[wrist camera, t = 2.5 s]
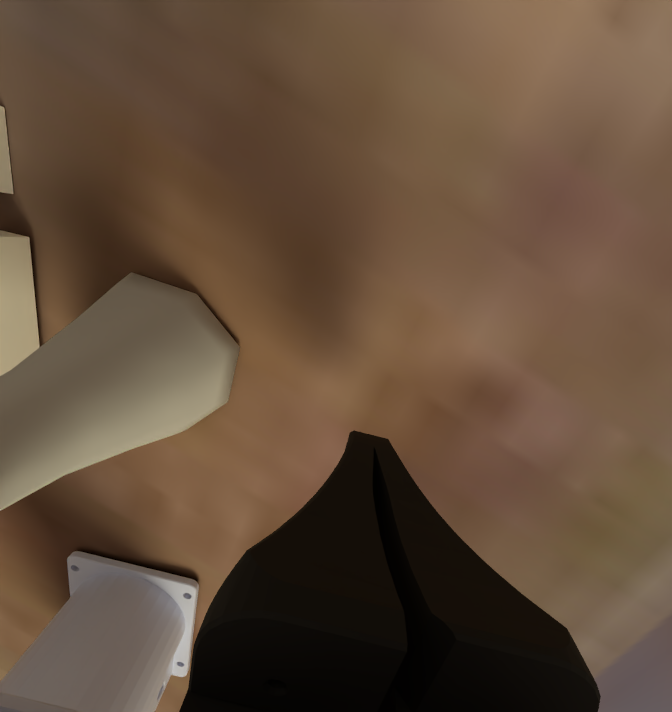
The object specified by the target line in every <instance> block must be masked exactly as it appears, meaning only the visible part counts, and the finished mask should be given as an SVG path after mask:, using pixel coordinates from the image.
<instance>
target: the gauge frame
mask: <svg viewBox="0 0 672 712" xmlns="http://www.w3.org/2000/svg"><path fill="white" fill-rule="evenodd" d="M0 192H2V193H9V194H14V193H13V184H12V174H11V165H10V156H9V146H8V137H7V127H6V118H5V109H4V107H2V106H0Z"/></svg>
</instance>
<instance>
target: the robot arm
mask: <svg viewBox="0 0 672 712" xmlns="http://www.w3.org/2000/svg"><path fill="white" fill-rule="evenodd" d="M67 565H68V577H69V588H70V598H69V599H68V601H67V602H66V603H65V604H64V606H63V607H62V608H61V609H60V610H59V612H58V613H57V614H56V615H55V616H54V618H53V619H52V620H51V621H50V622H49V624H48V625H47V626H46V627H45V628H44V630H43V631H42V632H41V633H40V634H39V636H38V637H37V638H36V639H35V641H34V642H33V643H32V644H31V645H30V647H29V648H28V649H27V650H26V651H25V653H24V654H23V655H22V656H21V657H20V659H19V660H18V661H17V662H16V663H15V665H14V666H13V667H12V668H11V669H10V671H9V672H8V673H7V674H6V676H5V677H4V678H3V679H2V680H1V682H0V712H155V710H156V707H157V705H158V703H159V701H160V699H161V696H162V694H163V692H164V690H165V687H166V685H167V683H168V681H169V678H170V676H171V675H175V676H179V677H184V676H186V675H187V672H188V670H189V665H190V657H191V648H192V640H193V632H194V623H195V615H196V606H197V598H198V589H199V585H198V583H197V581H195V580H193V579H190V578H186V577H182V576H178V575H174V574H170V573H166V572H162V571H158V570H154V569H150V568H146V567H142V566H137V565H133V564H129V563H125V562H121V561H117V560H113V559H109V558H105V557H101V556H97V555H93V554H89V553H85V552H81V551H74V552H73V553H71V555H70V556H69V557H68V558H67ZM599 703H600V693H599V690H598V687H597V684H596V682H595V680H594V678H593V676H592V674H591V673H590V671H589V669H588V667H587V665H586V663H585V661H584V659H583V657H582V656H581V654H580V652H579V650H578V648H577V646H576V644H575V642H574V640H573V639H572V637H571V635H570V633H569V631H568V630H567V628H566V627H564V626H563V625H562V624H560V623H559V622H558V621H556V620H555V619H554V618H552V617H551V616H550V615H549V614H547V613H546V612H545V611H543V610H542V609H541V608H539V607H538V606H537V605H535V604H534V603H533V602H532V601H530V600H529V599H528V598H526V597H525V596H524V595H522V594H521V593H520V592H519V591H518V590H516V589H515V588H514V587H513V586H512V585H510V584H509V583H508V582H507V581H506V580H505V579H503V578H502V577H501V576H500V575H499V574H498V573H496V572H495V571H494V570H493V569H492V568H491V567H490V566H489V565H488V564H487V563H485V562H484V561H483V560H482V559H481V558H480V557H479V556H478V555H477V554H476V553H475V552H474V551H473V550H472V549H471V548H470V547H469V546H468V545H467V544H466V543H465V542H464V541H463V540H462V539H461V538H460V537H459V536H458V535H457V534H456V533H455V532H454V531H453V530H452V529H451V527H450V526H449V525H448V524H447V523H446V522H445V520H444V519H443V518H442V517H441V516H440V515H439V514H438V512H437V511H436V510H435V509H434V507H433V506H432V505H431V504H430V502H429V501H428V500H427V498H426V497H425V496H424V494H423V493H422V492H421V490H420V489H419V488H418V486H417V485H416V483H415V482H414V480H413V479H412V477H411V476H410V474H409V473H408V471H407V470H406V468H405V466H404V465H403V463H402V462H401V460H400V458H399V457H398V455H397V453H396V452H395V450H394V448H393V447H392V445H391V443H390V442H389V440H388V439H386V438H382V437H378V436H374V435H370V434H366V433H362V432H357V431H352V432H350V435H349V438H348V442H347V445H346V448H345V452H344V454H343V456H342V458H341V460H340V461H339V463H338V465H337V466H336V468H335V469H334V471H333V472H332V474H331V475H330V477H329V478H328V479H327V481H326V482H325V483H324V484H323V486H322V487H321V488H320V489H319V490H318V492H317V493H316V494H315V495H314V496H313V497H312V498H311V499H310V500H309V501H308V502H307V503H306V504H305V505H304V507H303V508H301V509H300V510H299V511H298V512H297V513H296V514H295V515H294V516H293V517H291V518H290V519H289V520H288V521H287V522H285V523H284V524H283V525H282V526H281V527H280V528H278V529H277V530H276V531H274V532H273V533H272V534H270V535H269V536H267V537H266V538H265V539H263V540H262V541H260V542H259V543H257V544H256V545H254V546H253V547H251V548H250V549H248V550H247V551H246V552H245V554H244V555H243V556H242V558H241V559H240V560H239V562H238V563H237V564H236V565H235V567H234V568H233V570H232V571H231V572H230V574H229V575H228V577H227V578H226V579H225V581H224V583H223V584H222V586H221V587H220V589H219V590H218V592H217V594H216V596H215V597H214V599H213V601H212V603H211V605H210V606H209V609H208V611H207V613H206V615H205V618H204V620H203V623H202V625H201V628H200V630H199V633H198V635H197V638H196V641H195V644H194V648H193V656H192V664H191V672H190V680H189V688H188V691H187V694H186V696H185V699H184V701H183V704H182V706H181V709H180V711H179V712H598V709H599Z"/></svg>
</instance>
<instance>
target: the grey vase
mask: <svg viewBox="0 0 672 712" xmlns="http://www.w3.org/2000/svg"><path fill="white" fill-rule="evenodd" d="M239 350H240V347H239V345H238V344H237V343H236V342H235V341H234V339H233V338H232V337H231V336H230V334H229V333H228V332H227V331H226V329H225V328H224V327H223V326H222V325H221V323H220V322H219V321H218V320H217V318H216V317H215V316H214V315H213V313H212V312H211V311H210V310H209V309H208V307H207V306H206V305H205V304H204V302H203V301H202V300H201V299H200V298H199V296H198V295H197V294H196V293H193V292H190V291H187V290H183V289H180V288H177V287H174V286H171V285H168V284H165V283H162V282H159V281H156V280H153V279H150V278H147V277H144V276H141V275H138V274H135V273H132V272H131V273H129V274H128V275H127V276H126V277H124V278H123V279H122V280H121V281H119V282H118V283H117V284H116V285H114V286H113V287H112V288H111V289H110V290H109V291H108V292H106V293H105V294H104V295H103V296H102V297H101V298H99V299H98V300H97V301H96V302H95V303H94V304H93V305H91V306H90V307H89V308H88V309H87V310H86V311H85V312H83V313H82V314H81V315H80V316H79V317H78V318H76V319H75V320H74V321H72V322H71V323H70V324H69V325H67V326H66V327H65V328H64V329H62V330H61V331H60V332H59V333H57V334H56V335H55V336H53V337H52V338H51V339H50V340H48V341H47V342H46V343H45V344H43V345H42V346H41V347H39V348H38V349H37V350H36V351H34V352H33V353H32V354H31V355H29V356H28V357H27V358H26V359H24V360H23V361H22V362H20V363H19V364H18V365H17V366H15V367H14V368H13V369H12V370H10V371H8V372H6V373H5V374H3V375H1V376H0V511H1V510H3V509H4V508H6V507H8V506H10V505H12V504H14V503H15V502H17V501H19V500H21V499H23V498H24V497H26V496H28V495H30V494H32V493H33V492H35V491H37V490H39V489H41V488H42V487H44V486H46V485H48V484H50V483H51V482H53V481H55V480H57V479H59V478H61V477H62V476H64V475H66V474H69V473H72V472H74V471H77V470H79V469H82V468H84V467H87V466H90V465H92V464H95V463H97V462H100V461H102V460H105V459H108V458H110V457H113V456H115V455H118V454H120V453H123V452H126V451H128V450H131V449H133V448H136V447H139V446H142V445H145V444H148V443H151V442H154V441H157V440H160V439H163V438H166V437H169V436H172V435H175V434H177V433H180V432H182V431H185V430H187V429H188V428H190V427H191V426H193V425H194V424H196V423H197V422H199V421H200V420H202V419H203V418H205V417H206V416H208V415H209V414H211V413H212V412H214V411H215V410H217V409H218V408H220V407H221V406H223V405H224V404H225V403H227V402H228V399H229V394H230V390H231V386H232V381H233V377H234V372H235V368H236V363H237V359H238V355H239Z"/></svg>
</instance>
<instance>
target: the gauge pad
mask: <svg viewBox="0 0 672 712" xmlns="http://www.w3.org/2000/svg"><path fill="white" fill-rule="evenodd" d="M39 347H40V345H39V334H38V324H37V313H36V303H35V292H34V282H33V271H32V261H31V251H30V240H29V237H27V236H23V235H19V234H14V233H10V232H6V231H2V230H0V376H1V375H3V374H5V373H6V372H8V371H10V370H12V369H13V368H14V367H15V366H17V365H18V364H19V363H20V362H22V361H23V360H24V359H26V358H27V357H28V356H29V355H31V354H32V353H33V352H34V351H36V350H37V349H38V348H39Z"/></svg>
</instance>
